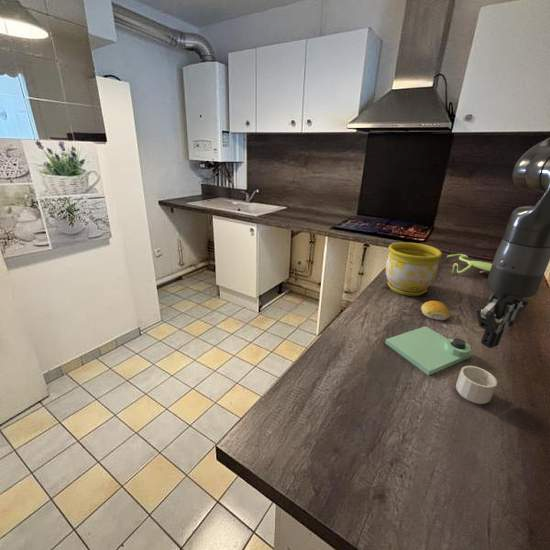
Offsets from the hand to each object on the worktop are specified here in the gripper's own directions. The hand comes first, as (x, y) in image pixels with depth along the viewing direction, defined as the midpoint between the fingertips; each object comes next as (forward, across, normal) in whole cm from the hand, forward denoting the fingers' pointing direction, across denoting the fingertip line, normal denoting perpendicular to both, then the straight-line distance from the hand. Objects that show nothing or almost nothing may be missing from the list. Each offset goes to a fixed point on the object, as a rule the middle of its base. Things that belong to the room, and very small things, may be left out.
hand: (489, 344), depth 60 cm
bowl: (+13, 0, 0) cm, 13 cm away
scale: (+13, +4, +15) cm, 20 cm away
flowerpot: (+13, +30, +45) cm, 56 cm away
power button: (+10, +9, +10) cm, 17 cm away
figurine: (+13, +73, +44) cm, 86 cm away
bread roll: (+13, +23, +27) cm, 38 cm away
